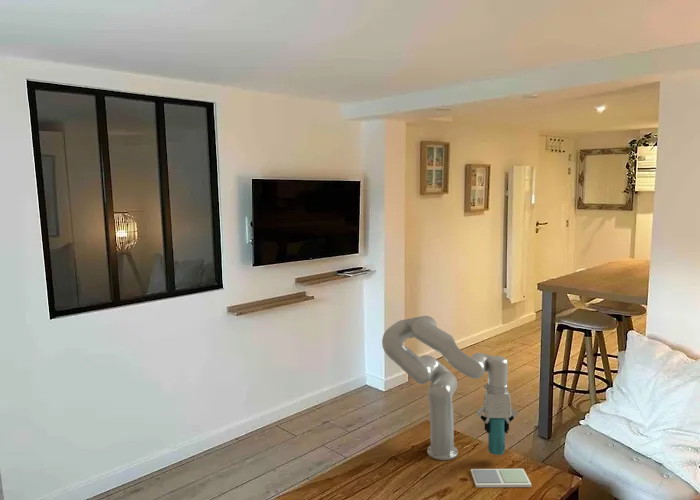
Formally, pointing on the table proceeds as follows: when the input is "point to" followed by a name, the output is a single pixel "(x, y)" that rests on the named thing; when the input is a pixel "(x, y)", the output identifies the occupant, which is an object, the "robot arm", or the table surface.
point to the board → (500, 478)
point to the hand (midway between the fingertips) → (496, 431)
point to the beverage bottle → (497, 436)
